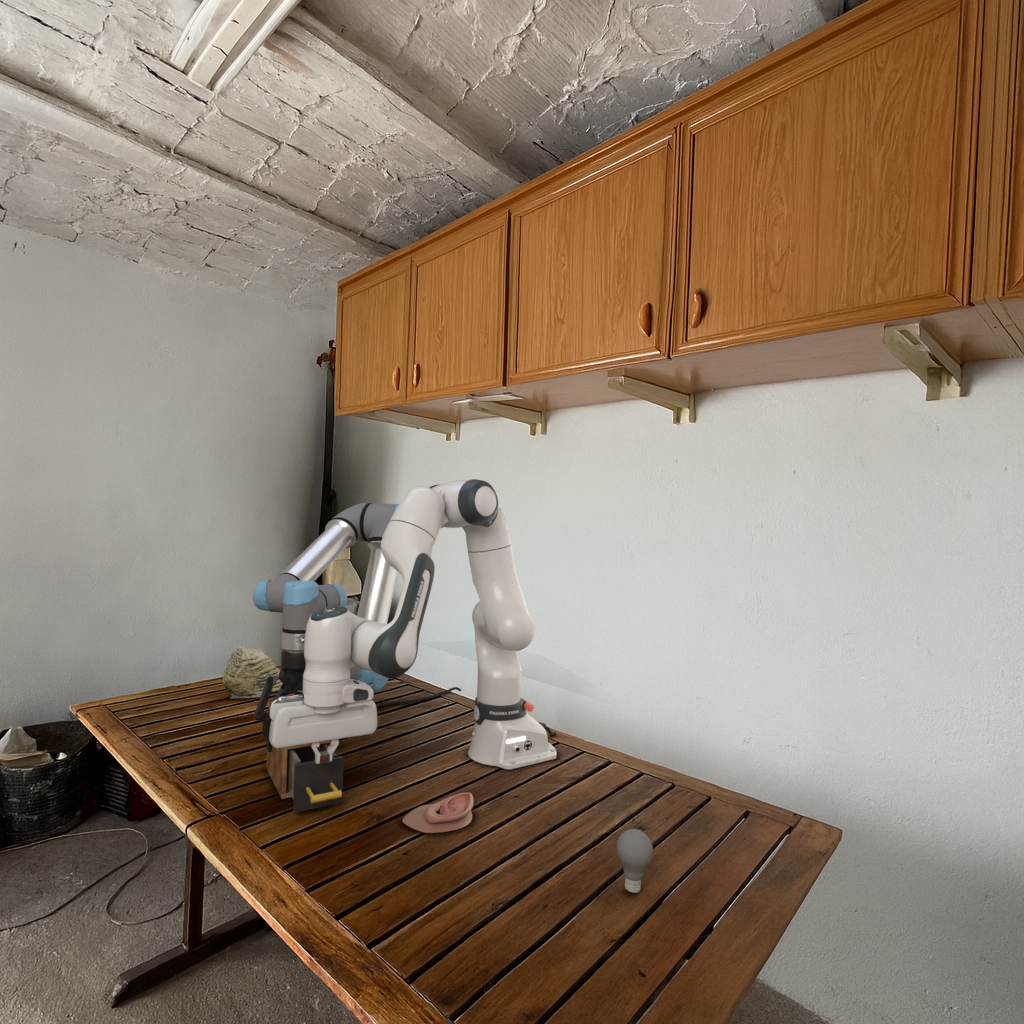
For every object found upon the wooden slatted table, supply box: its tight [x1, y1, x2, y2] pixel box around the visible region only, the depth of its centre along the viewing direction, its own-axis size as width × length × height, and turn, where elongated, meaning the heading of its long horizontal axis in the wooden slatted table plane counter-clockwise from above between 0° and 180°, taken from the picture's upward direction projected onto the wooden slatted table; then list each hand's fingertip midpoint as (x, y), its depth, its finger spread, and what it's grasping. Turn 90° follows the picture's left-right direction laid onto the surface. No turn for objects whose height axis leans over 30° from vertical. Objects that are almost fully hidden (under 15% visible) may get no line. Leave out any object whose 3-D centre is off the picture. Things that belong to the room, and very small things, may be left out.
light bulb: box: [615, 828, 654, 894], centre depth 106 cm, size 6×6×10 cm
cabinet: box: [266, 741, 330, 800], centre depth 141 cm, size 17×11×11 cm, turn 31°
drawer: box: [286, 743, 345, 813], centre depth 130 cm, size 21×9×9 cm, turn 31°
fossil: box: [222, 646, 282, 699], centre depth 198 cm, size 9×18×15 cm, turn 132°
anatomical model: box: [401, 791, 474, 834], centre depth 126 cm, size 13×4×12 cm
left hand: (295, 745), depth 145 cm, fingers closed on cabinet, 11 cm apart
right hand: (323, 762), depth 123 cm, fingers closed
